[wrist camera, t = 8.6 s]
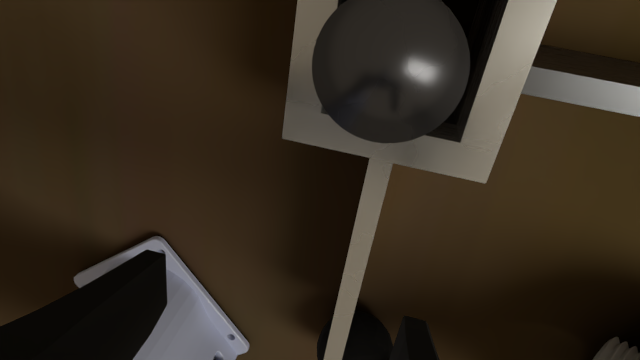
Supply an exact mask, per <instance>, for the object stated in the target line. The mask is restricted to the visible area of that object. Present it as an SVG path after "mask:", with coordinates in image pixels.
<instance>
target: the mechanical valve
mask: <svg viewBox="0 0 640 360" xmlns="http://www.w3.org/2000/svg"><path fill="white" fill-rule="evenodd" d="M332 320H333V318H332V319H331V320H330V321H328V323H327V324H326V325H325V326H324V328H323V330H322V332H321V334H320V336H319V339H318V342H317V358H318V360H324V355H325V351H326V347H327V342H328V338H329V334H330V329H331V325H332ZM392 349H393V344H392V341H391V337H390V334H389V332H388V331H387V329H386V328H385V327H384V325H383V324H382V323H381V322H380V321H379V320H378V319H377V318H375V317H374V316H372V315H370V314H368V313H365V312H361V311H354V315H353V319H352V323H351V326H350V330H349V334H348V338H347V342H346V346H345V349H344V353H343V357H342V360H389V358H390V355H391V352H392ZM593 360H640V353H638V350H637V347H636V346H634V347H632V348H629V346H628V342H626V341H625V342H622V343H621V344H620V341H619V337H614V338H612V339H610V340H609V341H608V342H606V343H605V344H604V346H603V347H602V348H601V349H600V350H599V351H598V352H597V354H596V356H595V357H594V359H593Z"/></svg>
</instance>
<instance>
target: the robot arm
mask: <svg viewBox="0 0 640 360" xmlns="http://www.w3.org/2000/svg"><path fill="white" fill-rule="evenodd" d="M162 250H163V251H164V252H163V251H162ZM74 282H75V284H76V285H77V286H78V287H79V289H77V290H75V291H73V292H71V293H69V294H68V295H66V296H64V297H62V298H60V299H58V300H56V301H54V302H52V303H50V304H48V305H46V306H44V307H42V308H40V309H38V310H36V311H34V312H32V313H30V314H28V315H26V316H23V317H21V318H19V319H17V320H14V321H12V322H10V323H7V324H5V325H3V326H0V360H235V359H236V357H237V355H239V354H243V353H246V352H247V351H248V348H249V343H248V341H247V340H246V339H245V338H244V336H243V335H242V334H241V333H240V331H239V330H238V329H237V328H236V326H235V325H234V324H233V323H232V322H231V320H230V319H229V318H228V317H227V315H226V314H225V313H224V312H223V311H222V309H221V308H220V307H219V306H218V304H217V303H216V302H215V301H214V300H213V298H212V297H211V296H210V295H209V293H208V292H207V291H206V290H205V288H204V287H203V286H202V285H201V284H200V282H199V281H198V280H197V279H196V277H195V276H194V275H193V274H192V273H191V271H190V270H189V269H188V268H187V266H186V265H185V264H184V263H183V262H182V260H181V259H180V258H179V257H178V255H177V254H176V253H175V252H174V250H173V249H172V248H171V247H170V246H169V244H168V243H167V242H166V241H165V240H164V239H163V238H162V237H160V236H154V237H152V238H150V239H148V240H146V241H143V242H141V243H139V244H137V245H135V246H133V247H131V248H129V249H127V250H125V251H123V252H121V253H119V254H117V255H115V256H113V257H111V258H108V259H106V260H104V261H102V262H100V263H98V264H96V265H94V266H92V267H90V268H88V269H86V270H84V271H82V272H80V273H78V274H77V275H76V276H75V277H74ZM389 360H439V358H438V355H437V352H436V349H435V346H434V343H433V340H432V337H431V333H430V330H429V326H428V324H427V322H426V321H424V320H420V319H416V318H412V317H408V316H404V317H403V320H402V323H401V325H400V328H399V331H398V334H397V337H396V340H395V343H394V346H393V349H392V352H391V355H390V358H389Z"/></svg>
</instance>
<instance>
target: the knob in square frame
mask: <svg viewBox="0 0 640 360" xmlns="http://www.w3.org/2000/svg"><path fill="white" fill-rule="evenodd" d="M345 1H347V0H298V1H297V10H296V19H295V27H294V36H293V45H292V54H291V62H290V71H289V80H288V89H287V97H286V106H285V115H284V124H283V132H282V139H286V140H291V141H295V142H300V143H304V144H309V145H314V146H318V147H323V148H327V149H332V150H336V151H341V152H345V153H350V154H354V155H359V156H363V157H368V158H370V159H369V163H368V167H367V172H366V176H365V180H364V185H363V189H362V194H361V198H360V202H359V207H358V211H357V215H356V220H355V224H354V229H353V233H352V237H351V242H350V246H349V250H348V255H347V259H346V264H345V268H344V272H343V277H342V281H341V285H340V290H339V294H338V299H337V303H336V307H335V312H334V316H333V320H332V325H331V329H330V334H329V338H328V342H327V347H326V351H325V355H324V360H342V357H343V353H344V349H345V346H346V342H347V338H348V334H349V330H350V326H351V323H352V319H353V315H354V311H355V307H356V303H357V299H358V296H359V292H360V288H361V284H362V280H363V276H364V273H365V269H366V265H367V261H368V257H369V253H370V249H371V246H372V242H373V238H374V234H375V230H376V226H377V222H378V219H379V215H380V211H381V207H382V203H383V199H384V196H385V192H386V188H387V184H388V180H389V176H390V172H391V169H392V165H393V163H395V164H399V165H404V166H409V167H413V168H418V169H422V170H427V171H431V172H436V173H440V174H445V175H449V176H454V177H458V178H463V179H467V180H472V181H476V182H481V183H485V184H486V182H487V179H488V176H489V174H490V171H491V169H492V166H493V164H494V161H495V158H496V156H497V153H498V151H499V148H500V146H501V143H502V140H503V138H504V135H505V133H506V130H507V128H508V125H509V122H510V120H511V117H512V115H513V112H514V110H515V107H516V104H517V102H518V99H519V97H520V94H521V93H522V94H527V95H532V96H537V97H542V98H547V99H552V100H558V101H563V102H568V103H573V104H578V105H583V106H588V107H593V108H598V109H603V110H608V111H613V112H618V113H623V114H628V115H633V116H638V117H640V63H638V62H632V61H627V60H621V59H616V58H611V57H605V56H600V55H594V54H589V53H584V52H578V51H573V50H568V49H562V48H557V47H551V46H546V45H541V44H540V43H541V40H542V38H543V35H544V32H545V30H546V27H547V25H548V22H549V20H550V17H551V14H552V12H553V9H554V7H555V4H556V1H557V0H479V3H478V6H477V9H476V13H475V16H474V19H473V22H472V26H471V29H470V32H469V35H468V39H467V42H468V47H469V52H470V71H469V77H468V82H467V86H466V88H465V91H464V94H463V96H462V98H461V100H460V102H459V104H458V105H457V107H456V108H455V110H454V111H453V112H452V113H451V115H450V116H449V117H448V118H447V119H446V120H445V121H444V122H443V123H442V124H441V125H439V126H438V127H437V128H435V129H434V130H432V131H431V132H429V133H427V134H425V135H423V136H421V137H419V138H416V139H414V140H410V141H406V142H401V143H376V142H371V141H367V140H364V139H361V138H359V137H356V136H354V135H352V134H351V133H349V132H347V131H346V130H344V129H343V128H341V127H340V126H339V125H338V124H337V123H336V122H335V121H333V119H332V118H331V117H330V116H329V115H328V114H327V112H326V111H325V109H324V108H323V106H322V104H321V102H320V100H319V98H318V96H317V93H316V90H315V87H314V82H313V76H312V57H313V51H314V47H315V44H316V40H317V38H318V35H319V33H320V31H321V29H322V27H323V26H324V24H325V22H326V21H327V19H328V18H329V17H330V16H331V14H332V13H333V12H334V11H335V10H336V9H337V8H338V7H339V6H340V5H341V4H343V3H344V2H345Z"/></svg>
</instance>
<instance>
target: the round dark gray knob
mask: <svg viewBox="0 0 640 360" xmlns="http://www.w3.org/2000/svg"><path fill="white" fill-rule="evenodd" d="M469 71H470V52H469V47H468V42H467V39H466V36H465V33H464V31H463V29H462V27H461V25H460V23H459V21H458V20H457V18H456V17H455V16H454V14H453V13H452V11H451V10H450V9H449V8H448V7H447V6H446V5H445V4H444V3H443V2H442V1H441V0H347V1H345V2H344V3H343V4H341V5H340V6H339V7H338V8H337V9H336V10H335V11H334V12H333V13H332V14H331V16H330V17H329V18H328V19H327V21H326V22H325V24H324V26H323V27H322V29H321V31H320V33H319V35H318V38H317V40H316V44H315V47H314V51H313V57H312V76H313V82H314V87H315V90H316V93H317V96H318V98H319V100H320V102H321V104H322V106H323V108H324V109H325V111H326V112H327V114H328V115H329V116H330V117H331V118H332V119H333V121H335V122H336V123H337V124H338V125H339V126H340V127H341V128H343V129H344V130H346V131H347V132H349V133H351V134H352V135H354V136H356V137H359V138H361V139H364V140H367V141H371V142H376V143H401V142H406V141H410V140H414V139H416V138H419V137H421V136H423V135H425V134H427V133H429V132H431V131H432V130H434V129H435V128H437V127H438V126H439V125H441V124H442V123H443V122H444V121H445V120H446V119H447V118H448V117H449V116H450V115H451V113H452V112H453V111H454V110H455V108H456V107H457V105H458V104H459V102H460V100H461V98H462V96H463V94H464V91H465V88H466V86H467V82H468V77H469Z"/></svg>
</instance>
